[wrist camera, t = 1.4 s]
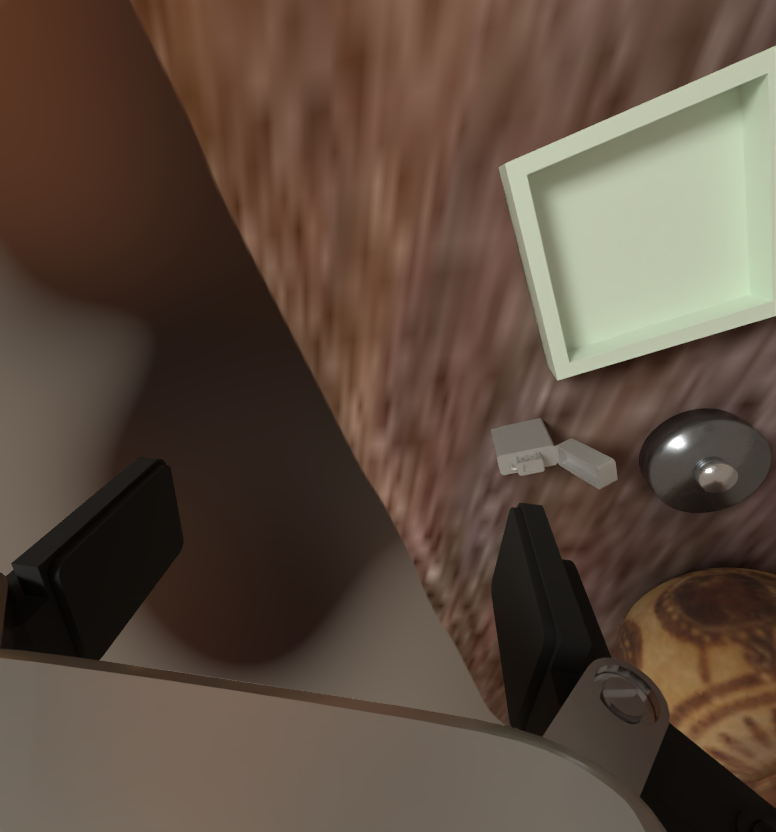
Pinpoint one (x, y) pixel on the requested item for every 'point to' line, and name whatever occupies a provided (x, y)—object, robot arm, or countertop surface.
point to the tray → (652, 221)
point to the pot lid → (704, 460)
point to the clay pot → (714, 664)
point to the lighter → (549, 453)
